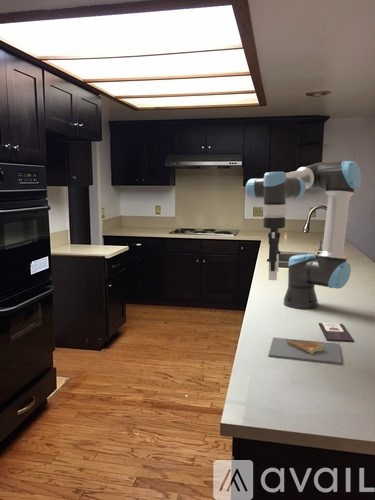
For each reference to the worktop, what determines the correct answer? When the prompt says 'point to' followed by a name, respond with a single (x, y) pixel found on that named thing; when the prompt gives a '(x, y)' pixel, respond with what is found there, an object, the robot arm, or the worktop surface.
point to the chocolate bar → (335, 332)
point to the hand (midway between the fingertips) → (273, 275)
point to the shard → (306, 345)
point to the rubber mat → (290, 352)
